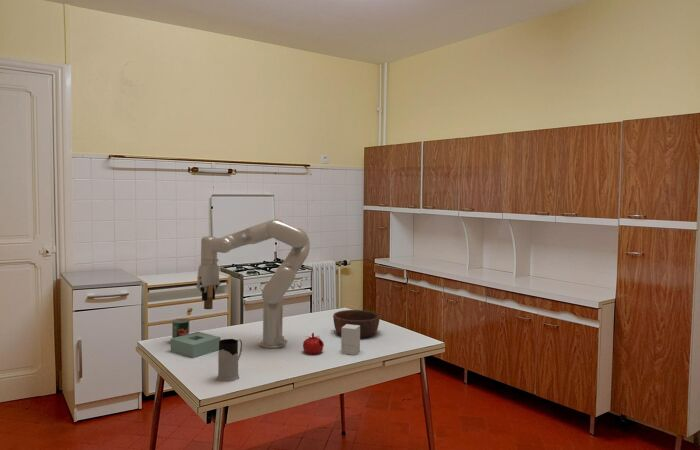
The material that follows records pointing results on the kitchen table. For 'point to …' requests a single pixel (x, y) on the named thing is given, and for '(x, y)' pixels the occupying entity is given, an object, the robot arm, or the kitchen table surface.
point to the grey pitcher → (228, 360)
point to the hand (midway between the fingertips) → (208, 299)
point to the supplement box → (350, 339)
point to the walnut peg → (209, 298)
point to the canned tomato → (180, 327)
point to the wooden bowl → (357, 321)
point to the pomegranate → (313, 345)
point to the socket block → (195, 344)
